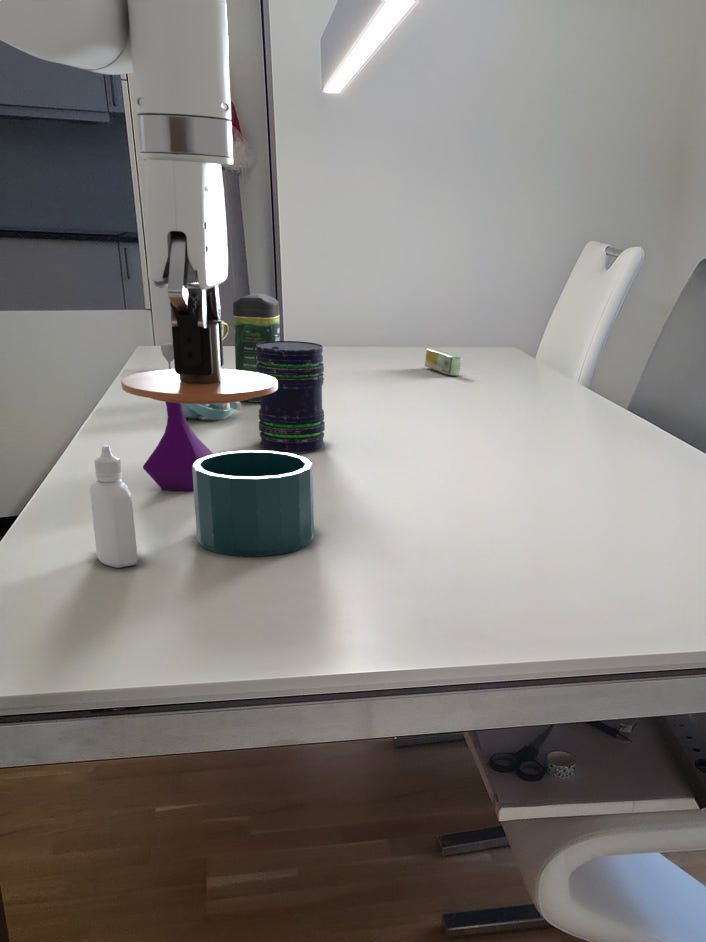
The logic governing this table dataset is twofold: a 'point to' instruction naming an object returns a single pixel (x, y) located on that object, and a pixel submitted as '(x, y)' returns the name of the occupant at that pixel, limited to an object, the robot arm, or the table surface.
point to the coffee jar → (254, 329)
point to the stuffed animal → (210, 410)
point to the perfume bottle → (175, 447)
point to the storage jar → (292, 397)
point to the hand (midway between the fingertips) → (199, 368)
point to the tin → (253, 502)
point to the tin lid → (201, 382)
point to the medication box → (443, 362)
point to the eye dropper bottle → (112, 513)
